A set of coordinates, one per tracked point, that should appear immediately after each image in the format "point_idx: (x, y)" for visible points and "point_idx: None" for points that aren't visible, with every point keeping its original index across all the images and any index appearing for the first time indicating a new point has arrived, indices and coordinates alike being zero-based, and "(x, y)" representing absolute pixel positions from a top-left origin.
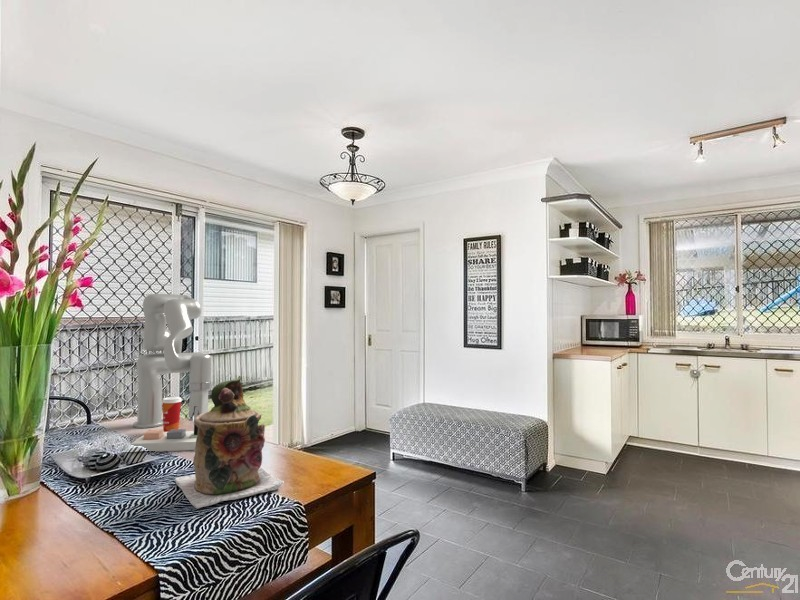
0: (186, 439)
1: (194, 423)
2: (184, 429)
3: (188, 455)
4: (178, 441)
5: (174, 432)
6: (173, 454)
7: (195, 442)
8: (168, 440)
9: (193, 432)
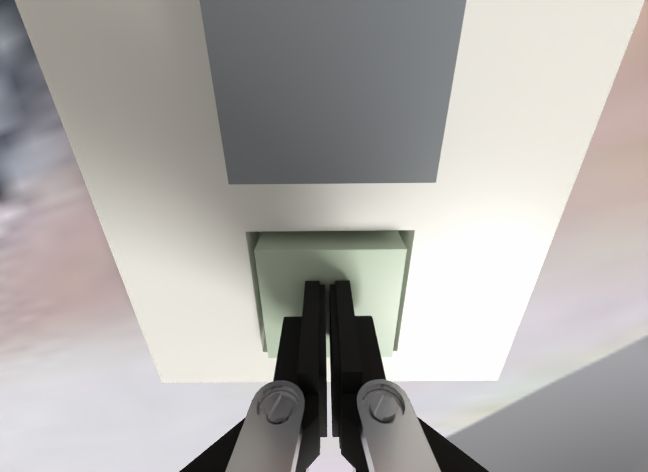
0: (205, 228)
1: (252, 409)
2: (403, 173)
3: (44, 266)
4: (118, 169)
5: (224, 63)
6: (30, 152)
7: (139, 314)
8: (134, 16)
9: (490, 221)
